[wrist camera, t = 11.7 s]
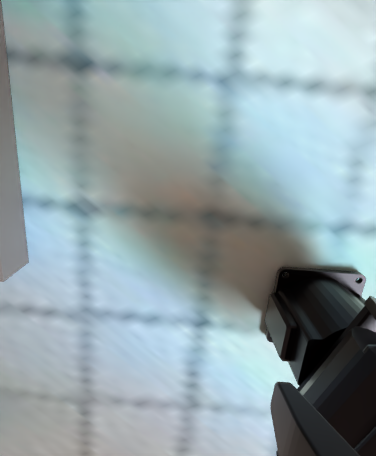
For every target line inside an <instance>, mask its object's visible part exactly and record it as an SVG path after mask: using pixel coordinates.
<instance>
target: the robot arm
mask: <svg viewBox="0 0 376 456" xmlns="http://www.w3.org/2000/svg"><path fill="white" fill-rule="evenodd" d="M284 272H287V275H285V276H282V274H283V273H284ZM357 278H359V280H357V281H356V279H357ZM365 282H366V278H365V276H364V275H362V274H361V273H359V272H349V271H335V270H322V269H308V268H294V267H282V268H280V269H279V270H278V272H277V277H276V282H275V287H274V292H272V293H271V294H270V296H269V302H268V307H267V312H266V318H265V323H266V326H267V329H266V338H267V340H268V341H269V342H273V343H274V345H275V348H276V350H277V353H278V355H279V357H280V358H281V360H282V361H288V363H289V365H290V367H291V370H292V372H293V374H294V377H295V379H296V381H297V383H298V385H299V387H298V389H296V388H295V387H294V386H293V385H292V384H291V383H288V382H277V383H276V384H275V386H274V391H273V395H272V400H271V415H272V420H273V426H274V431H275V437H276V442H277V448H278V450H277V452H276V453H277V456H376V298H374V297H372V296H369V298H368V299H367V300H366V301H365V300H364V299H363V298H362V297H361V295H362V292H363V288H364V285H365Z"/></svg>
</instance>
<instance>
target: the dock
mask: <svg viewBox="0 0 376 456" xmlns="http://www.w3.org/2000/svg"><path fill="white" fill-rule="evenodd" d="M27 263H29V260H28V251H27V241H26V232H25V222H24V213H23V203H22V194H21V184H20V175H19V166H18V156H17V147H16V137H15V128H14V118H13V109H12V100H11V90H10V81H9V71H8V62H7V52H6V43H5V33H4V24H3V15H2V5H1V0H0V281H1V282H4V281H5V280H7V279H8V278H9V277H10V276H12V275H13V274H14V273H16V272H17V271H18V270H19V269H21V268H22V267H23V266H25V265H26V264H27Z"/></svg>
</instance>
